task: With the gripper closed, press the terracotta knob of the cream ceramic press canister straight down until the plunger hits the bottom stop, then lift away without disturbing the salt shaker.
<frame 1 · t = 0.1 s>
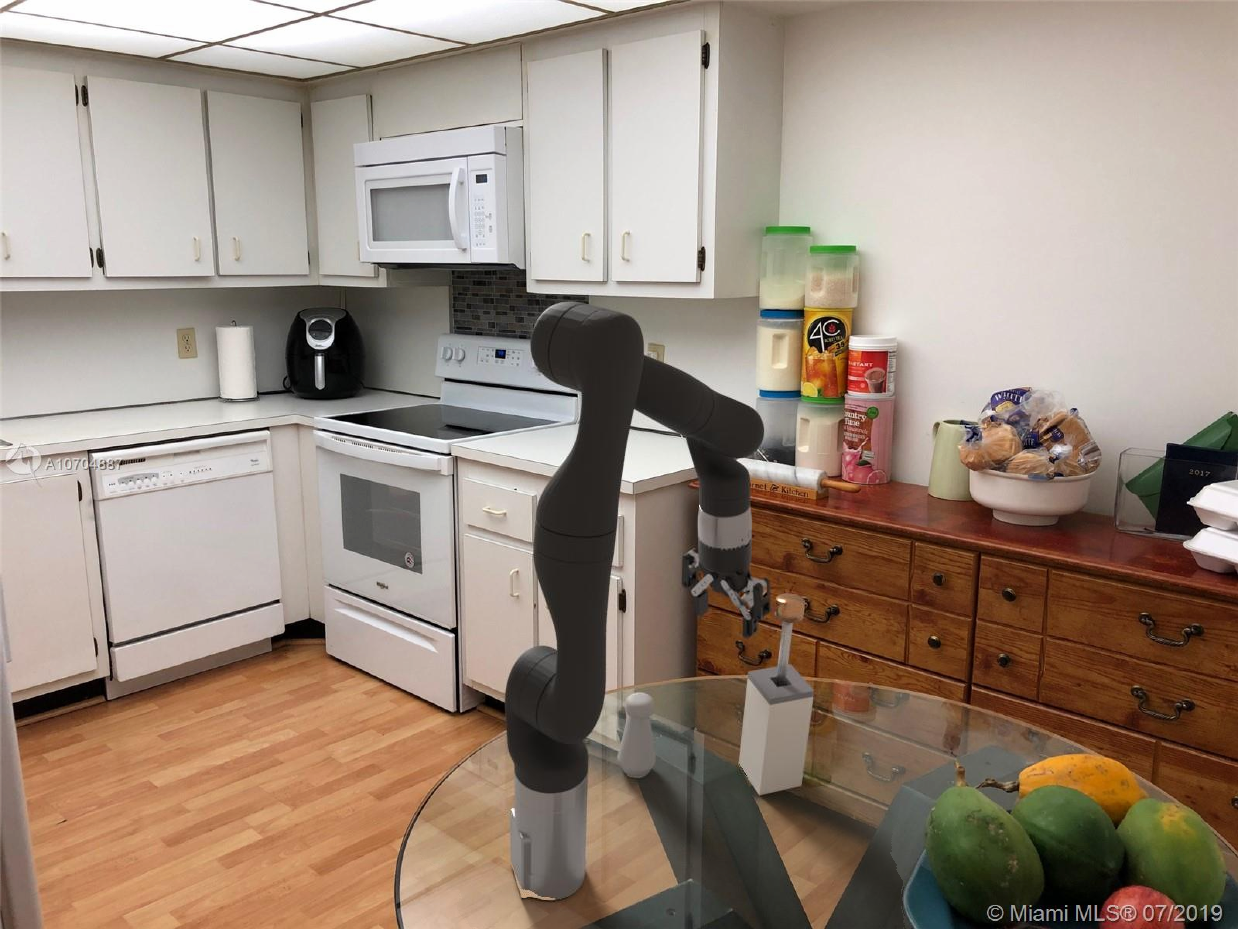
hand: (725, 624, 144), 22 cm above the table, tool pointing down, fingers open, 8 cm apart
salt shaker: (636, 771, 147), on the table
plunger: (784, 653, 139), point 22 cm above the table, slide at 0.0 cm
press canister: (769, 775, 147), on the table
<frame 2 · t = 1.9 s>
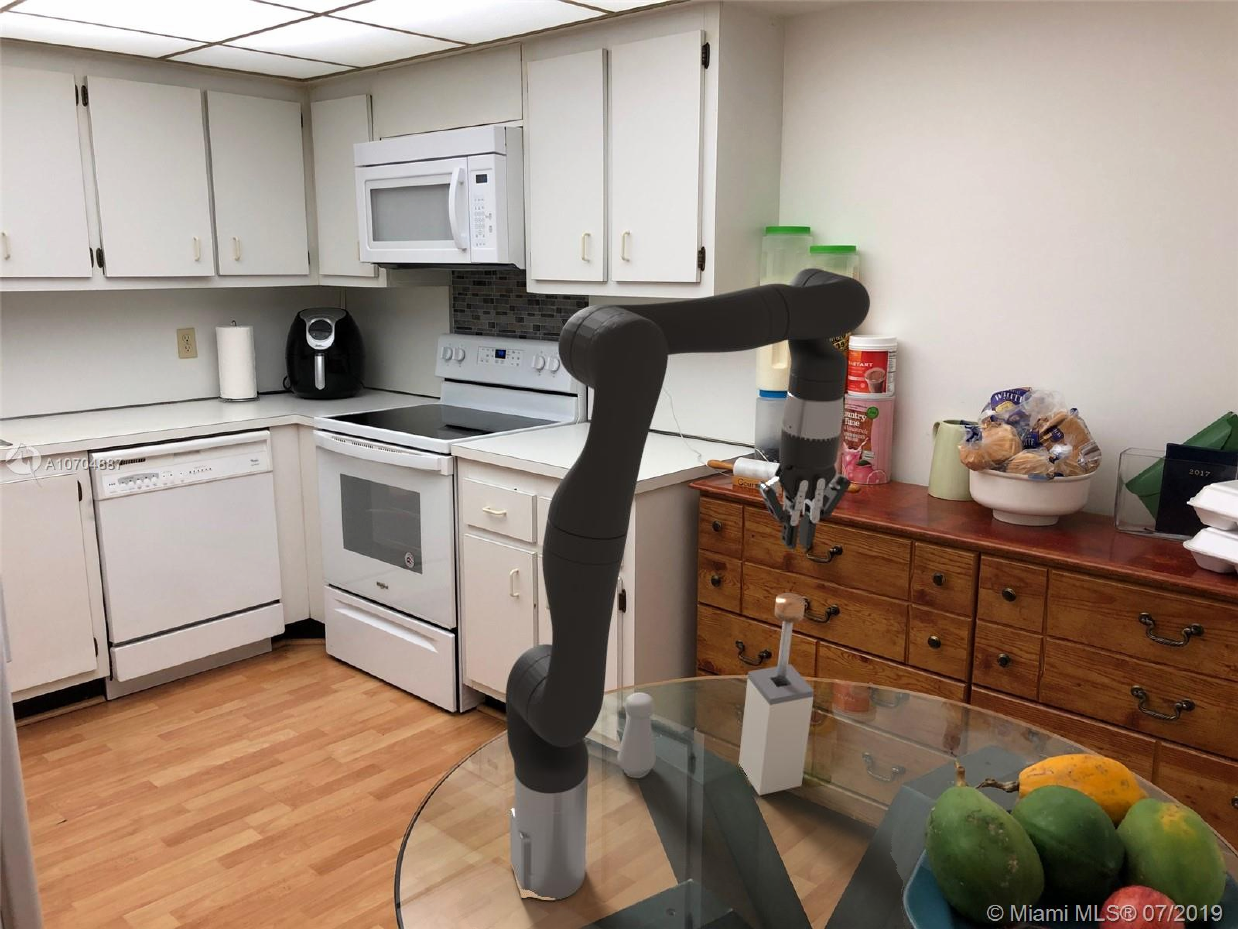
hand: (797, 545, 133), 39 cm above the table, tool pointing down, fingers closed
nothing on the table moved.
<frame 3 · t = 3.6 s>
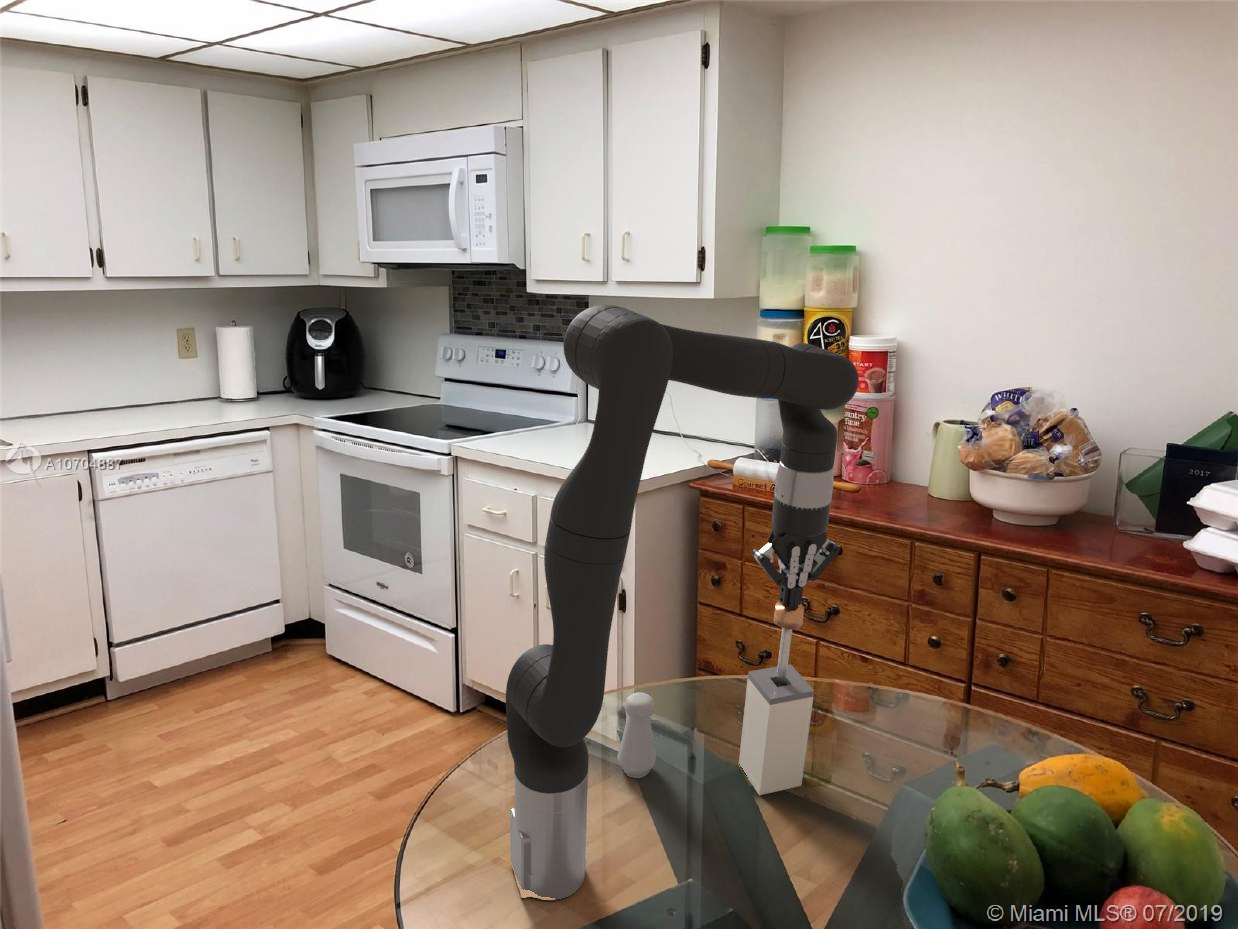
hand: (789, 607, 136), 29 cm above the table, tool pointing down, fingers closed
plunger: (783, 659, 140), point 21 cm above the table, slide at 1.1 cm, touching gripper
everything else where it was.
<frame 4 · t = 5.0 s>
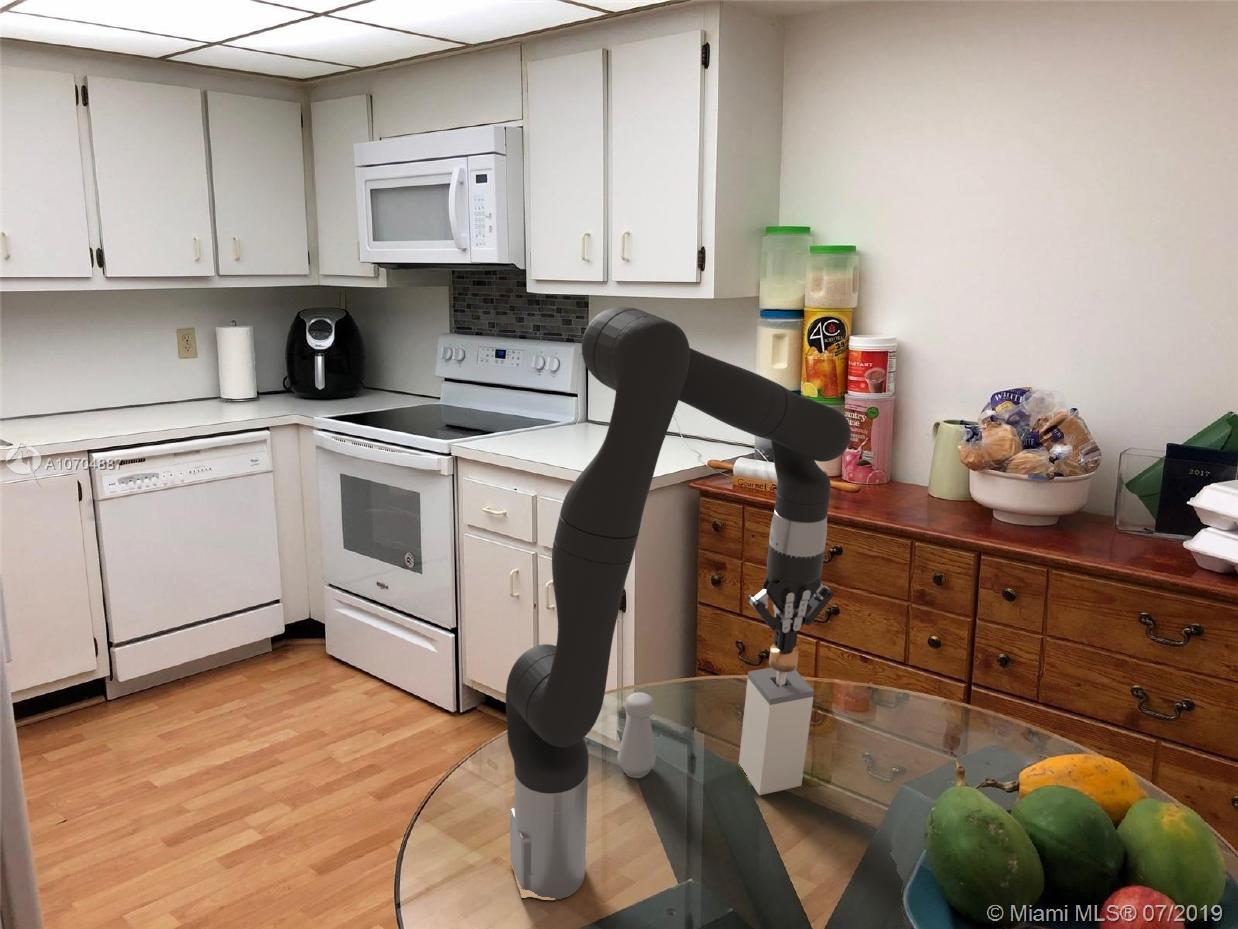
hand: (784, 650, 139), 22 cm above the table, tool pointing down, fingers closed
plunger: (778, 700, 142), point 14 cm above the table, slide at 8.1 cm, touching gripper
everything else where it was.
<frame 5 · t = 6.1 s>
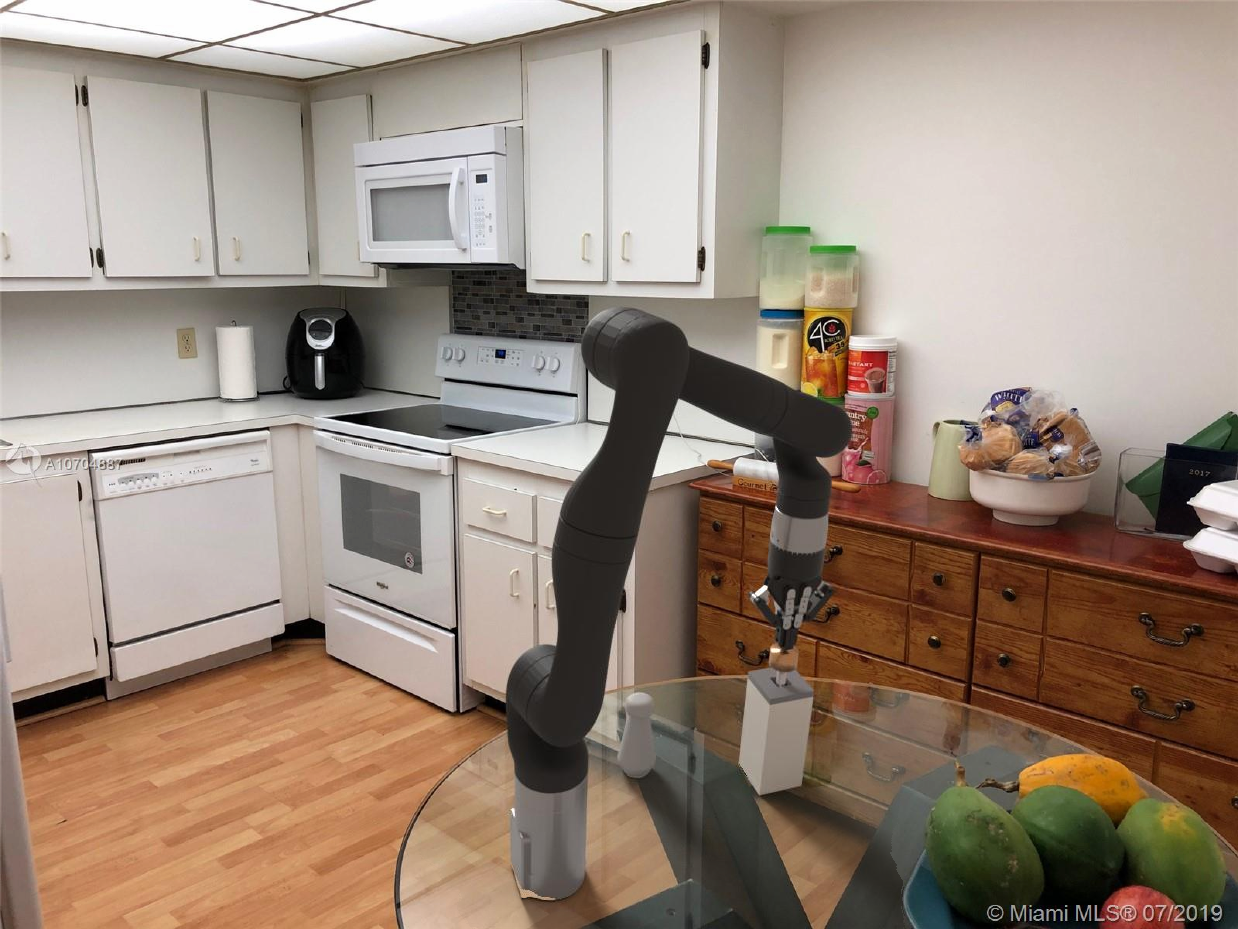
hand: (785, 647, 139), 23 cm above the table, tool pointing down, fingers closed
plunger: (778, 700, 142), point 14 cm above the table, slide at 8.1 cm
everything else where it was.
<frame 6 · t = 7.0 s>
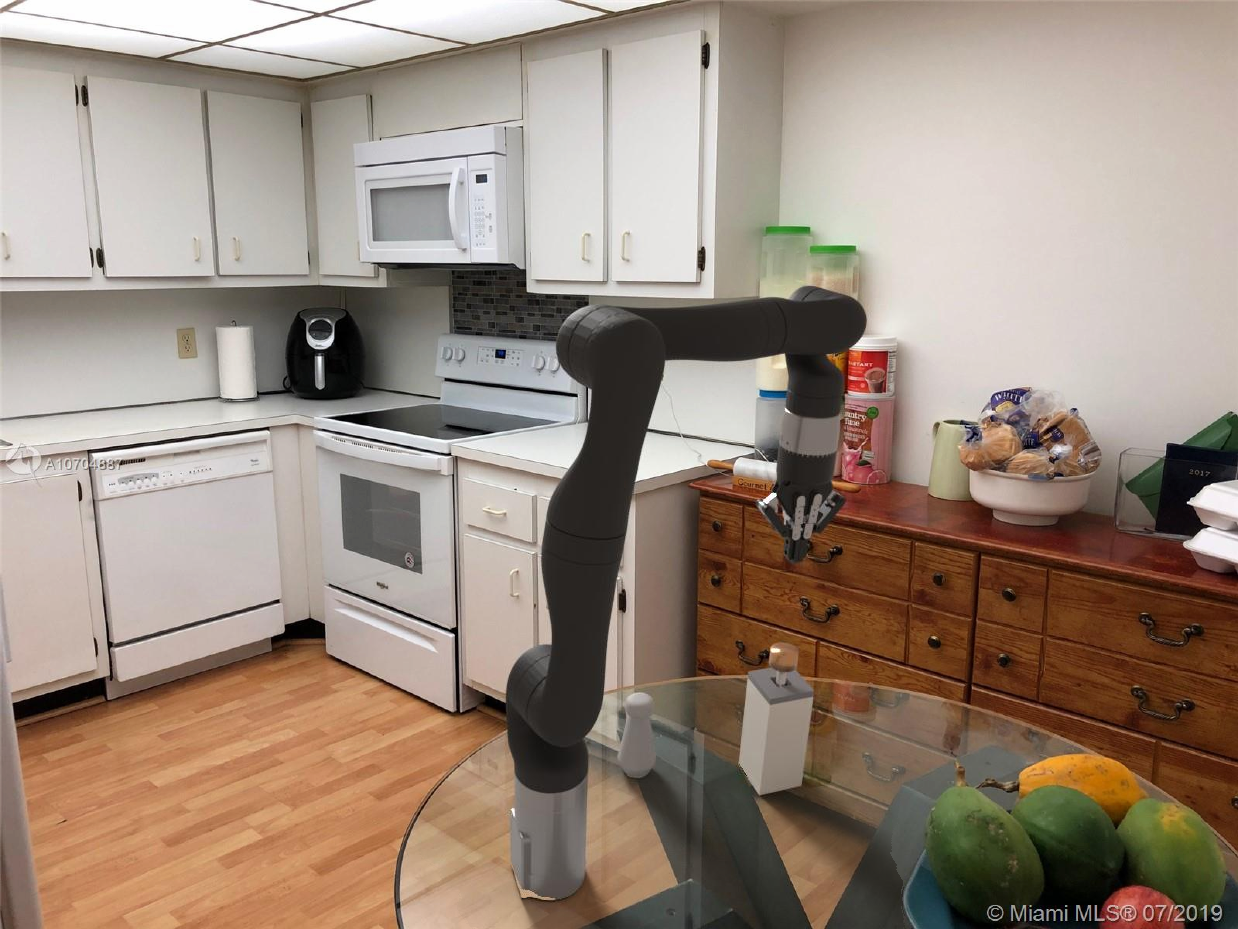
hand: (794, 560, 133), 37 cm above the table, tool pointing down, fingers closed
nothing on the table moved.
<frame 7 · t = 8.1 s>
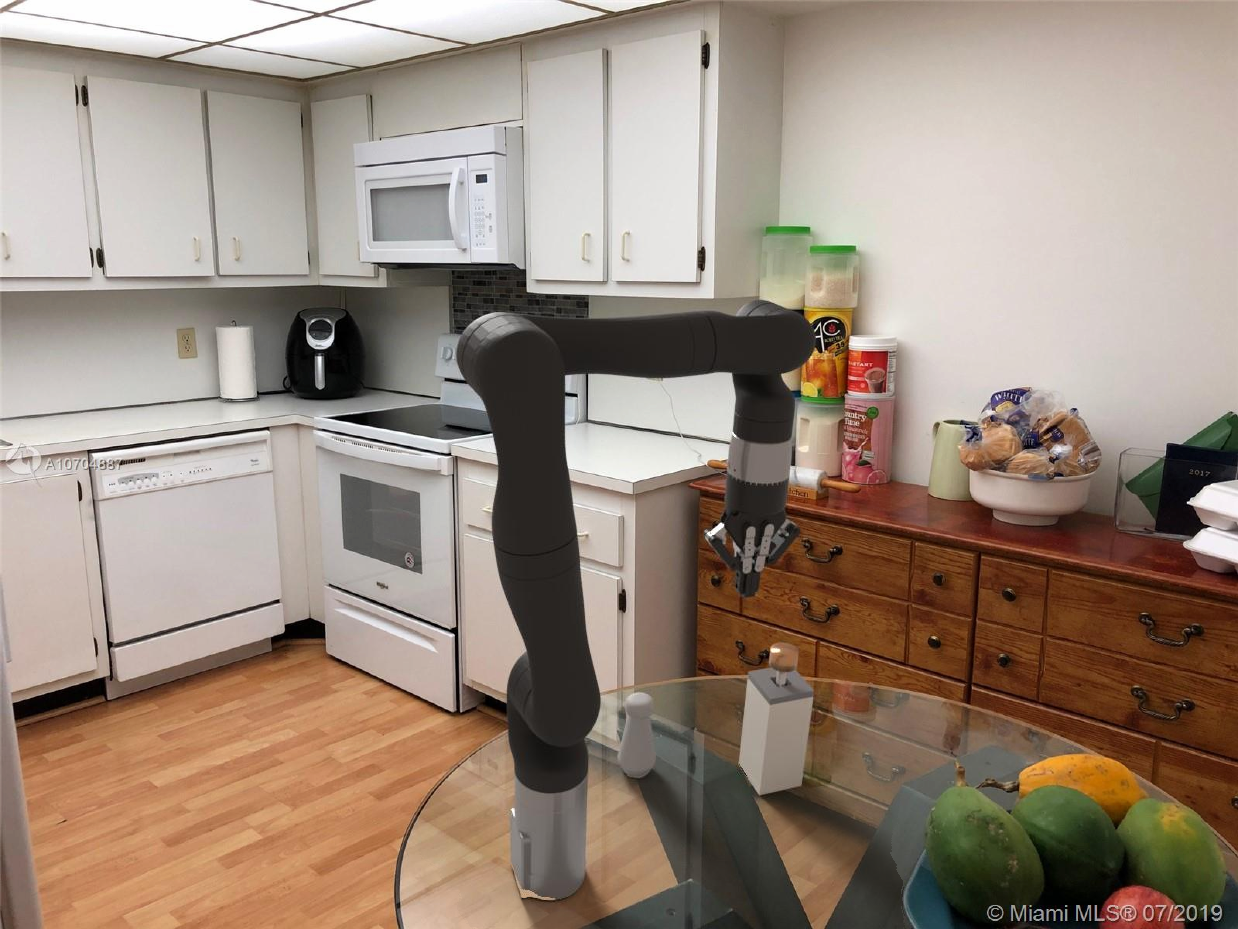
hand: (745, 594, 124), 37 cm above the table, tool pointing down, fingers closed
nothing on the table moved.
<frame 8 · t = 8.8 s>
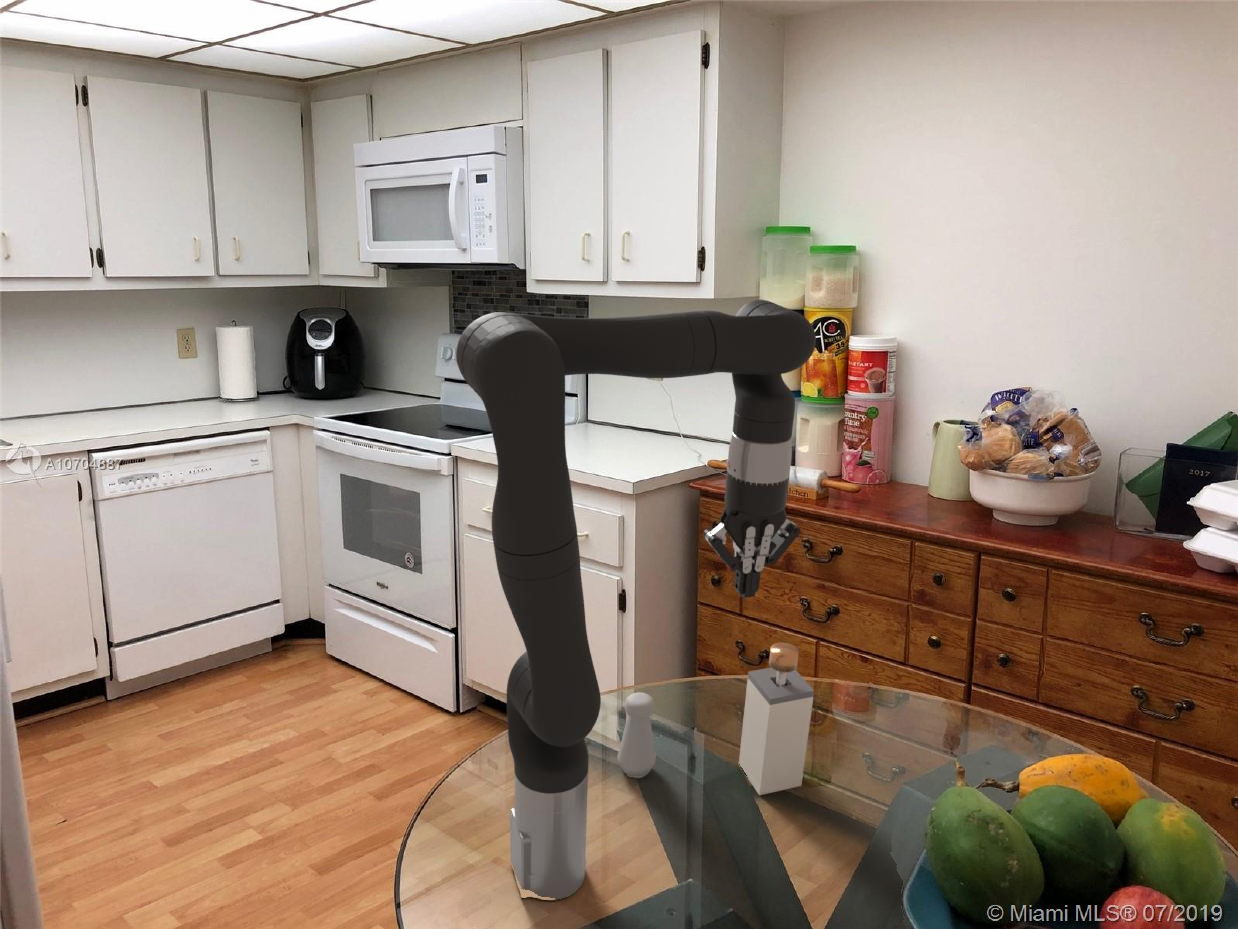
hand: (745, 594, 124), 37 cm above the table, tool pointing down, fingers closed
nothing on the table moved.
at the end: plunger slide at 8.1 cm; salt shaker moved 0.2 cm from its start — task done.
